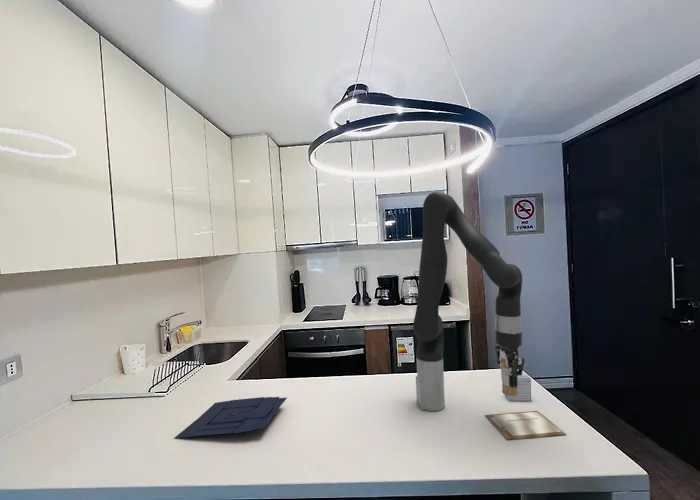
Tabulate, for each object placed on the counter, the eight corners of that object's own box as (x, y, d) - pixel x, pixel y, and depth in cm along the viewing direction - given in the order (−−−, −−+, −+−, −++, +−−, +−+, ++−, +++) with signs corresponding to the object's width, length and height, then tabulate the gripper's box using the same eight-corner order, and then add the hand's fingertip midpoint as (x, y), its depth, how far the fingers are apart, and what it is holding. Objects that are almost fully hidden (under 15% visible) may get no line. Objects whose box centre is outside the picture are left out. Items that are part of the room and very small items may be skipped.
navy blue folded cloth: (263, 440, 104) (261, 428, 104) (175, 446, 109) (173, 435, 109) (290, 402, 128) (288, 392, 128) (216, 409, 133) (215, 399, 133)
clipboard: (507, 440, 100) (506, 434, 100) (485, 416, 114) (484, 411, 114) (566, 435, 102) (566, 429, 101) (537, 411, 115) (537, 407, 115)
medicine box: (526, 396, 127) (526, 372, 127) (531, 401, 123) (531, 377, 123) (504, 396, 128) (503, 372, 128) (508, 401, 124) (508, 377, 123)
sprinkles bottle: (507, 389, 111) (507, 347, 110) (521, 394, 107) (520, 351, 106) (498, 393, 108) (497, 350, 108) (511, 398, 104) (511, 354, 104)
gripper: (486, 324, 114) (487, 375, 114) (507, 336, 100) (509, 394, 100) (508, 323, 114) (509, 374, 115) (533, 334, 100) (534, 393, 100)
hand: (509, 383), depth 107 cm, fingers closed on sprinkles bottle, 4 cm apart
